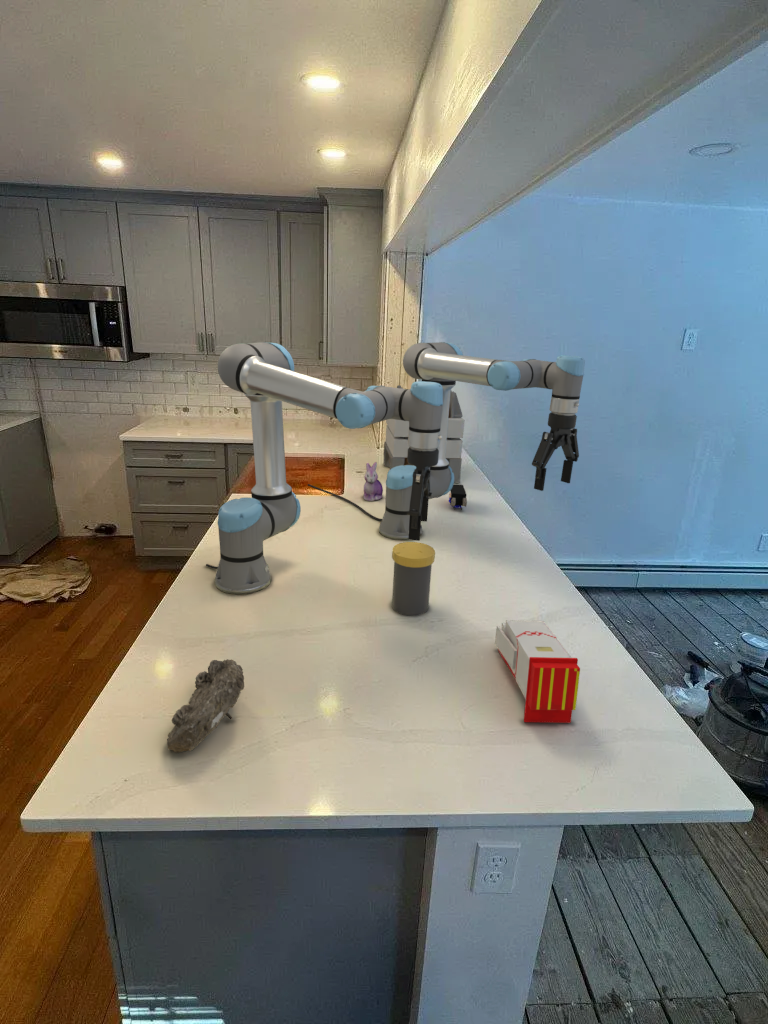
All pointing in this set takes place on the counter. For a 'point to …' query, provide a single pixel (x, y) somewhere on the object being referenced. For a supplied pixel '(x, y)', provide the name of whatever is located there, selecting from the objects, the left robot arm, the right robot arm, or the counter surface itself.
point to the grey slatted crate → (398, 439)
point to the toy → (540, 670)
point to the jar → (411, 589)
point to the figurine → (372, 484)
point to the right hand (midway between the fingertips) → (552, 485)
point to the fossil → (206, 705)
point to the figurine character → (457, 496)
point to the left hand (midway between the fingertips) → (418, 529)
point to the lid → (413, 554)
